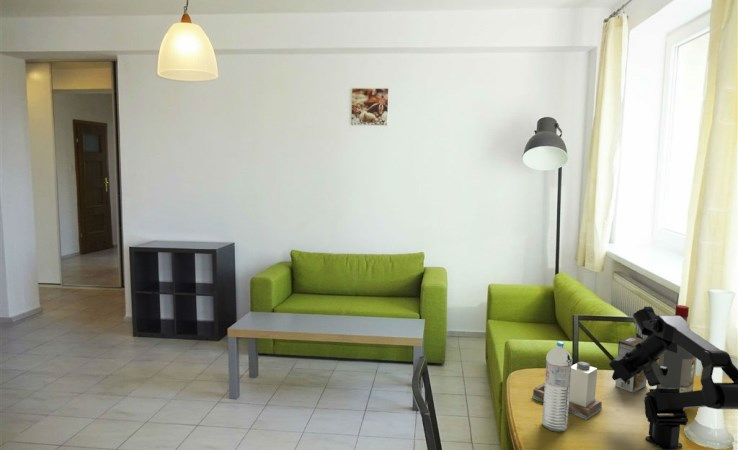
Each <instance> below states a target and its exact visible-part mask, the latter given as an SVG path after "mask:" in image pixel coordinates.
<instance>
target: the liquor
mask: <svg viewBox="0 0 738 450" xmlns="http://www.w3.org/2000/svg"><path fill="white" fill-rule="evenodd" d="M689 309H690V307H689V306H687V305H683V304H682V305H681V304H676V306H675V314H674V315H678V316H681V317H682V318H683V319H684V320H685V321H686V322H687V323H688V318H689V311H690V310H689ZM677 349H678V351H677V353H674V352H671V351H668V350H667V351H666V352H665V353H663V354H662V355H661V356H660V357H659V358H660V359H658V364H659V365H661V366H664V367H668V369H669V371H670V372H669V373H668V375H667V376H665V377H667V379H666V382H664V383H663V384H660V385H656V386H655V389H656V388H679V393H682V392H690V391H694V381H695V373H696V363H697V362H696V361H697V358H696V357H694V356H693V355H692V354H690V353H689V352H687V351H686V350H685V349H683V348H682V347H681V346H679V345H677Z"/></svg>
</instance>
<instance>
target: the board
mask: <svg viewBox="0 0 738 450" xmlns="http://www.w3.org/2000/svg"><path fill="white" fill-rule="evenodd" d="M544 387H545V382H543V383H541V384H540V385H538V386H536V387H535V388H534V389H533V391H532V393H533V394H532V395H531V399H533V400H536V401H539V402H541V403H542V404H543V403H544ZM602 404H603V403H602V400H599V399H597V398H595V402H594V403H593V404H591V405H589V406H588V407H587V408H586V407H583V406H581V405H578V404H575V403H573V402H570V401H569V411H568V414H571V415H575V416H577V417H579V418H581V419H584V420H589V419H590V418H591V417H593V416H594V415H596V414H598V413H599V412H600V411H601V410H603V407H602Z"/></svg>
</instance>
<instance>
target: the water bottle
mask: <svg viewBox="0 0 738 450" xmlns="http://www.w3.org/2000/svg"><path fill="white" fill-rule="evenodd" d="M564 345H565V343H564V342H563V341H560V340H559V341H556V346H554V347H553V348H552V349H551V350H549V351H548V352H547V354H546V358H545V359H546V364H545V365H546V368H545V380H544V383H545V387H544V403H543V402H542V405H543V407H542V420H541V421H542V426H543V427H544V428H545V429H546V430H548V431H552V432H557V433H558V432H559V433H562V432H565V431H566V430H567V428H568V421H569V412H568V411H569V397H570V377H571V366H572V365H573V357H572V355H571V354H570V352H569V351H568V350H567V349H565V348H564V347H565V346H564Z"/></svg>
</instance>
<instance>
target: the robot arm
mask: <svg viewBox="0 0 738 450" xmlns="http://www.w3.org/2000/svg"><path fill="white" fill-rule="evenodd" d="M632 319H633V320H634V322H635V324H636V326H637V327H638V330H639V331H640V333H641V335H642V336H646V337H645V338H644V339H643V341H642V342H640V343H638V344H637V345H635V347H634V348H633V349H632V350H631V351H629V352H627V353H626V354H625V356H623V357H618V356H617V357H616V358H614V359H612V360H611V361H610V362H609V363H608V365H609V367H610V368H611V369H612V370H613V373H612V376H611V379H612V380H613V381H616V380H617V379H619V378H621V379H622V380H623V381H625V382H627V381H628V380H630V379H631V378H633V377H634V376H636V374H639V373H641V372H642V371H643V373H644V375H645V377H646V379H647V380H646V382H647V385H648V386H649V387H655V388H648V391H647V392H646V393H645V396H644V399H643V402H644V403H643V404H644V414H645V418H646V419H647V422H648V423H649V426H648V436H645V440H647V442H650V443H652V444H653V445H655V446H656V447H658V448H660V449H662V450H674V449H678V448H682V447H683V444H682V443H681V442H679V441H680V432H681V431H680V430H681V426H688V425H687V424H688V422H689V418H688V416H687V414H686V413H687V412H686V411H685V409H694V408H695V409H696V408H709V409H713V410H738V367H736V366H735V364H733V360H732V359H731V355H730V354H729V353H728V352H727V351H725V350H722V349H720V348H718V347H716V346H715V345H714V344H712V343H711V342H709V341H708V340H706V339H704V338H703V337H702V336H700V335H699V334H698V333H696V332H694V331H693V330H691V329H690V328H689V327H690V326H689V323H688V321H687V322H686V321H685V320H684V319H683V318H682V317H681V316H678V315H675V314H673V315H671V314H669V315H666V314H662V315H661V314H656V313H655V311H654V308H653V307H652V306H648V305H647V306H644V307H643V308H642V309H639V310H636V311H635V312H633V315H632ZM677 345H679V346H681V347H682V348H683V349H685V350H686V351H687V352H689V353H690V354H692V355H693V356H694V357H696V360H698V361H700V363H701V366H702V372H701V377H700V384H701V386H702V387H701V389H699V390H693V391H690V392H682V393H679V388H656V387H657V385H660V384H663V383H664V382H666V379H667V377H665V376H667V375H668V373H669V372H670V371H669V369H668V367H664V366H661V365H659V362H657V361H659V359H660V358H659V357H660V356H661V355H662V354H663V353H665V352H666V351H667V350H668V351H671V352H674V353H677V351H678V349H677ZM714 368H717V369H718V368H720V369H721V370H722V371H723V372H724V373H725V374H726V376H727V377H728V378H729V379H730V380H731V381H732V382H714V380H713V373H714ZM635 373H636V374H635Z"/></svg>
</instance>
